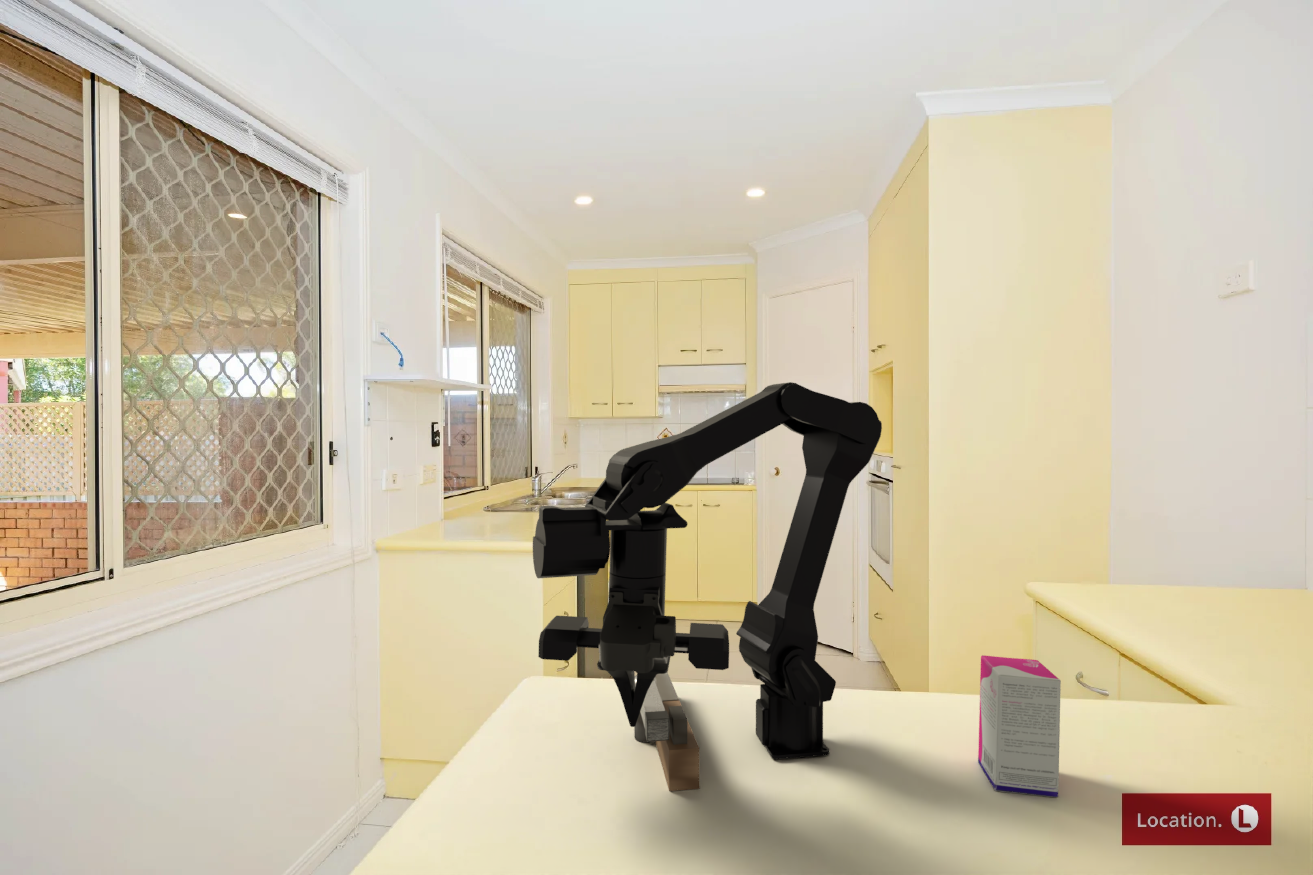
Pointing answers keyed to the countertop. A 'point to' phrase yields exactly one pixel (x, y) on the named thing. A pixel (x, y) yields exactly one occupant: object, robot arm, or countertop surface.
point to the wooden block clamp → (674, 741)
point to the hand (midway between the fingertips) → (633, 725)
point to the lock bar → (654, 715)
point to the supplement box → (1019, 726)
